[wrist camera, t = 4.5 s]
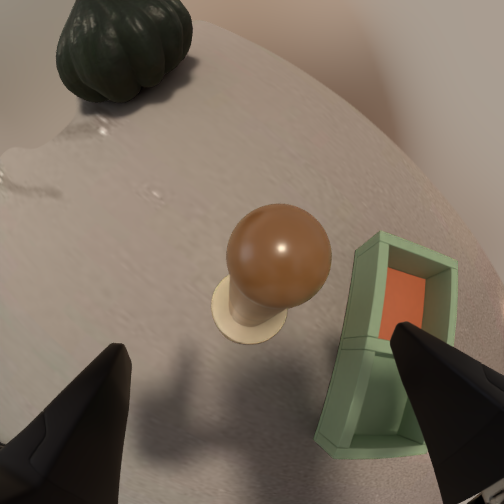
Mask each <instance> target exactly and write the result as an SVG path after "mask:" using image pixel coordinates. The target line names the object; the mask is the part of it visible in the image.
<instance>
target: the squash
mask: <svg viewBox="0 0 504 504" xmlns="http://www.w3.org/2000/svg"><path fill="white" fill-rule="evenodd" d="M192 33H193V27H192V20H191V16H190V14H189V12H188V11H187V9H186V8H185V7H184V5H183V4H182V3H181V1H180V0H76V2H75V4H74V6H73V8H72V10H71V13H70V15H69V17H68V19H67V22H66V24H65V26H64V28H63V31H62V33H61V36H60V39H59V42H58V46H57V52H56V65H57V70H58V72H59V75H60V78H61V80H62V82H63V84H64V85H65V86H66V88H67V89H68V90H69V91H71V92H72V93H74V94H75V95H76V96H78V97H80V98H82V99H84V100H86V101H90V102H95V103H98V102H104V101H108V100H111V101H113V102H118V103H121V102H126V101H129V100H131V99H132V98H134V97H135V96H136V95H137V94H138V92H139V91H140V89H141V86H143V87H153V86H156V85H158V84H159V83H160V82H161V80H162V78H163V75H164V74H166V73H168V72H170V71H171V70H173V69H174V68H176V67H177V65H178V64H179V63H180V62H181V61H182V60H183V59H184V58H185V56H186V55H187V53H188V51H189V48H190V46H191V41H192Z"/></svg>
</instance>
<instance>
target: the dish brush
mask: <svg viewBox="0 0 504 504" xmlns="http://www.w3.org/2000/svg"><path fill="white" fill-rule="evenodd" d="M226 260H227V267H228V271H229V275H228V276H226V277H225V278H224V279H223V280H222V281H221V282H220V283H219V284H218V286H217V287H216V289H215V291H214V293H213V297H212V302H211V311H212V316H213V319H214V322H215V324H216V325H217V327H218V329H219V330H220V332H221V333H222V334H223V335H224V336H225V337H226V338H227V339H229V340H231V341H233V342H235V343H239V344H258V343H262V342H265V341H267V340H269V339H270V338H272V337H273V336H275V335H276V334H277V333H278V332H279V331H280V329H281V328H282V326H283V324H284V322H285V320H286V317H287V312H288V308H292V307H295V306H299V305H301V304H303V303H305V302H306V301H308V300H310V299H311V298H312V297H313V296H314V295H315V294H317V292H318V291H319V290H320V289H321V288H322V286H323V285H324V283H325V281H326V279H327V277H328V275H329V271H330V267H331V260H332V253H331V246H330V242H329V239H328V236H327V234H326V232H325V230H324V228H323V227H322V225H321V224H320V223H319V222H318V221H317V219H316V218H314V217H313V216H312V215H311V214H309V213H308V212H306V211H305V210H303V209H301V208H298V207H296V206H292V205H288V204H271V205H266V206H262V207H259V208H257V209H255V210H253V211H252V212H250V213H249V214H247V215H246V216H245V217H244V218H243V219H241V221H240V222H239V223H238V224H237V226H236V227H235V229H234V230H233V232H232V234H231V236H230V239H229V242H228V246H227V252H226Z"/></svg>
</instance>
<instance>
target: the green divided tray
mask: <svg viewBox="0 0 504 504" xmlns="http://www.w3.org/2000/svg"><path fill="white" fill-rule="evenodd" d="M457 300H458V261H457V260H455V259H452V258H450V257H448V256H445V255H443V254H441V253H438V252H436V251H433V250H431V249H428V248H426V247H423V246H421V245H418V244H416V243H413V242H410V241H408V240H405V239H403V238H400V237H397V236H395V235H392V234H389V233H387V232H384V231H379V232H378V233H377V234H375V235H374V236H373V237H372V238H370V239H369V240H368V241H367V242H366V243H364V244H363V245H362V246H361V247H359V248H358V249H357V250H356V251H355V258H354V266H353V273H352V280H351V286H350V292H349V298H348V304H347V310H346V315H345V320H344V325H343V330H342V335H341V340H340V344H339V349H338V353H337V358H336V362H335V366H334V370H333V374H332V378H331V382H330V385H329V389H328V393H327V396H326V400H325V403H324V407H323V410H322V414H321V417H320V420H319V423H318V426H317V429H316V433H315V436H314V439H313V440H314V441H315V442H316V443H317V444H319V445H320V446H321V447H322V448H323V449H324V450H325V451H326V452H327V453H328V454H329V455H330V456H331V457H332V458H333V459H380V458H394V457H405V456H413V455H421V454H426V453H427V451H428V449H427V447H426V444H425V441H424V438H423V435H422V432H421V429H420V427H419V424H418V421H417V419H416V416H415V413H414V411H413V408H412V406H411V403H410V401H409V398H408V396H407V393H406V391H405V389H404V386H403V384H402V381H401V378H400V375H399V372H398V369H397V366H396V363H395V360H394V356H393V353H392V350H391V347H390V339H391V336H392V334H393V331H394V329H395V327H396V325H397V324H398V323H400V322H405V321H408V322H410V323H412V324H414V325H415V326H417V327H419V328H421V329H422V330H424V331H426V332H428V333H430V334H431V335H433V336H435V337H437V338H438V339H440V340H442V341H444V342H445V343H447V344H449V345H451V346H452V347H453V346H454V337H455V328H456V316H457Z"/></svg>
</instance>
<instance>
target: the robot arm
mask: <svg viewBox="0 0 504 504" xmlns="http://www.w3.org/2000/svg"><path fill="white" fill-rule="evenodd" d="M390 347H391V350H392V353H393V356H394V360H395V363H396V366H397V369H398V372H399V375H400V378H401V381H402V384H403V386H404V389H405V391H406V393H407V396H408V398H409V401H410V403H411V406H412V408H413V411H414V413H415V416H416V419H417V421H418V424H419V427H420V429H421V432H422V435H423V438H424V441H425V444H426V447H427V449H428V452H429V456H430V459H431V462H432V465H433V468H434V472H435V475H436V479H437V482H438V486H439V489H440V493H441V497H442V501H443V504H458V503H460V502H463V501H465V500H466V499H468V498H470V497H472V496H474V495H476V494H478V493H479V494H478V495H477V496H476V497H475V498H473V499H472V500H471V501H469V502H468V503H467V504H504V375H502V374H500V373H498V372H496V371H494V370H493V369H491V368H489V367H487V366H486V365H484V364H481V363H480V362H479V361H477V360H475V359H473V358H472V357H470V356H468V355H466V354H465V353H463V352H461V351H460V350H458V349H456V348H454V347H452V346H451V345H449V344H447V343H445V342H444V341H442V340H440V339H438V338H437V337H435V336H433V335H431V334H430V333H428V332H426V331H424V330H422V329H421V328H419V327H417V326H415V325H414V324H412V323H410V322H408V321H405V322H400V323H398V324H397V325H396V327H395V329H394V331H393V334H392V336H391V339H390ZM131 371H132V363H131V360H130V357H129V355H128V352H127V350H126V347H125V345H124V344H122V343H111V344H110V345H109V346H108V347H107V348H106V349H105V350H103V351H102V352H101V353H100V354H99V355H98V356H97V357H96V358H95V359H94V360H93V361H92V362H91V363H90V364H89V365H88V366H87V367H86V368H85V369H84V370H83V371H82V372H81V373H80V374H79V375H78V376H77V377H76V378H75V379H74V380H73V381H72V382H71V383H70V384H69V385H68V386H67V387H66V388H65V389H64V390H63V391H62V392H61V393H60V394H59V395H58V396H57V397H56V398H55V399H54V400H53V401H52V402H51V403H50V404H49V405H48V406H47V407H46V408H45V409H44V410H43V411H44V412H43V411H42V412H41V413H40V414H39V415H38V416H37V417H36V418H35V419H34V420H33V421H32V422H31V423H30V424H29V425H28V426H27V427H26V428H25V429H24V430H22V431H21V432H20V433H19V434H18V435H17V436H16V437H15V438H13V439H12V440H11V441H10V442H9V443H7V444H6V445H5V446H4V447H3V448H1V449H0V504H118V495H119V482H120V471H121V461H122V453H123V445H124V438H125V431H126V424H127V418H128V411H129V400H130V384H131ZM480 492H481V493H480Z"/></svg>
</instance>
